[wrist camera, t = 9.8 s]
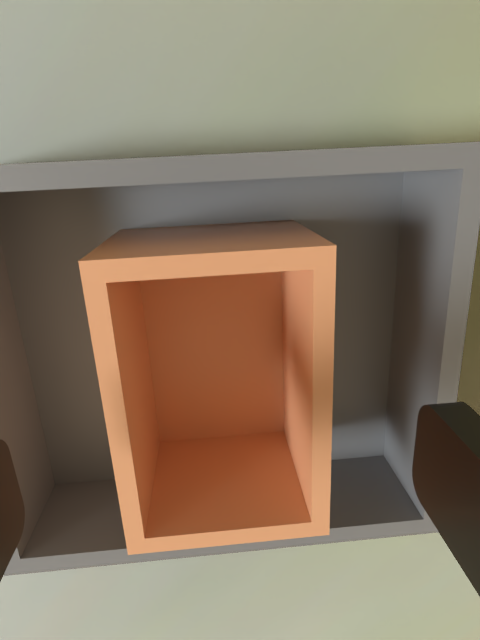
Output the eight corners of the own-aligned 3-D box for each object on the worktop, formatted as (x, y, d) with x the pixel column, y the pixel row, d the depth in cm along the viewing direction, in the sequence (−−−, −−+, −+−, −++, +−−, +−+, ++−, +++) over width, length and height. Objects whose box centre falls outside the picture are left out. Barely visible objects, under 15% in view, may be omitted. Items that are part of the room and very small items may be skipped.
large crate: (-27, 168, 14) (-115, 169, 10) (415, 148, 14) (490, 141, 11) (47, 488, 18) (4, 575, 14) (391, 457, 18) (439, 531, 15)
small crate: (120, 229, 14) (77, 261, 9) (292, 219, 14) (336, 245, 10) (149, 445, 17) (127, 555, 12) (294, 432, 17) (329, 534, 12)
